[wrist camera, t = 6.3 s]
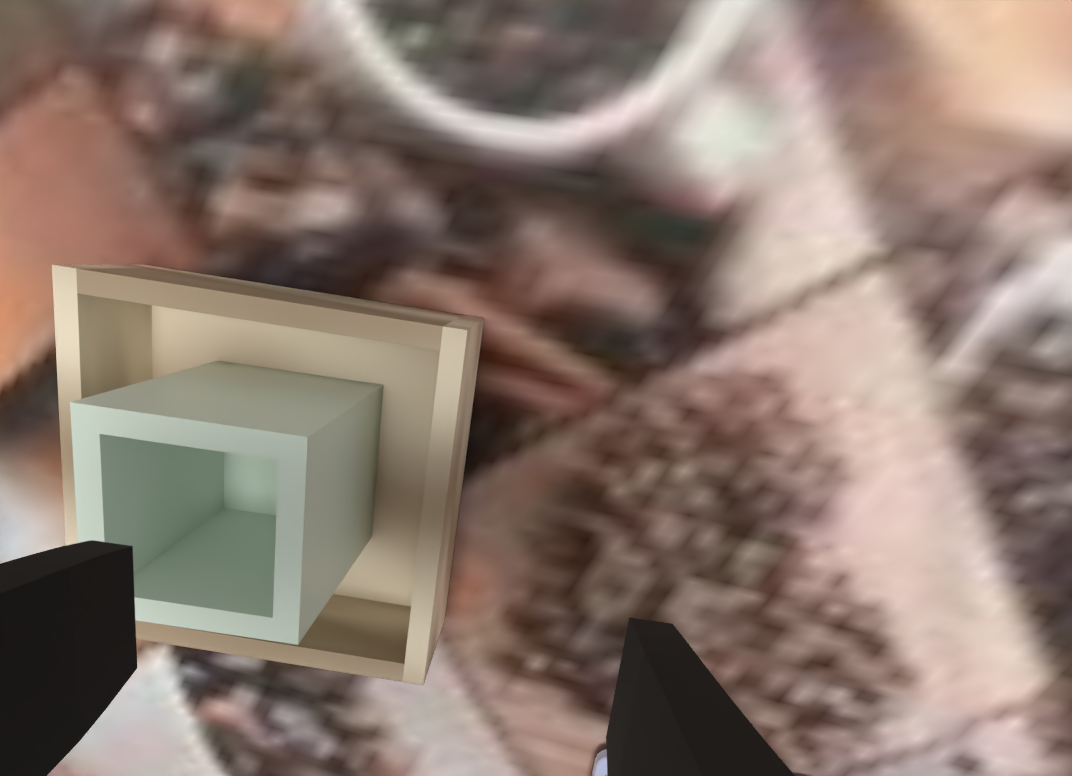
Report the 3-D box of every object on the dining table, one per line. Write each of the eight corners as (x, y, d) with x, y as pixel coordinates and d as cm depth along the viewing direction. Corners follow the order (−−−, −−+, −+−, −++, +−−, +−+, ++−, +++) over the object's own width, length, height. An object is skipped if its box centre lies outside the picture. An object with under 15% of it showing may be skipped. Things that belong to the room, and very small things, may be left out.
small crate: (371, 537, 17) (297, 644, 12) (216, 514, 17) (81, 612, 12) (383, 384, 16) (307, 436, 11) (217, 360, 16) (69, 402, 11)
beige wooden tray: (444, 618, 18) (423, 685, 15) (147, 570, 18) (69, 628, 16) (484, 318, 16) (467, 330, 13) (143, 264, 16) (51, 264, 13)
